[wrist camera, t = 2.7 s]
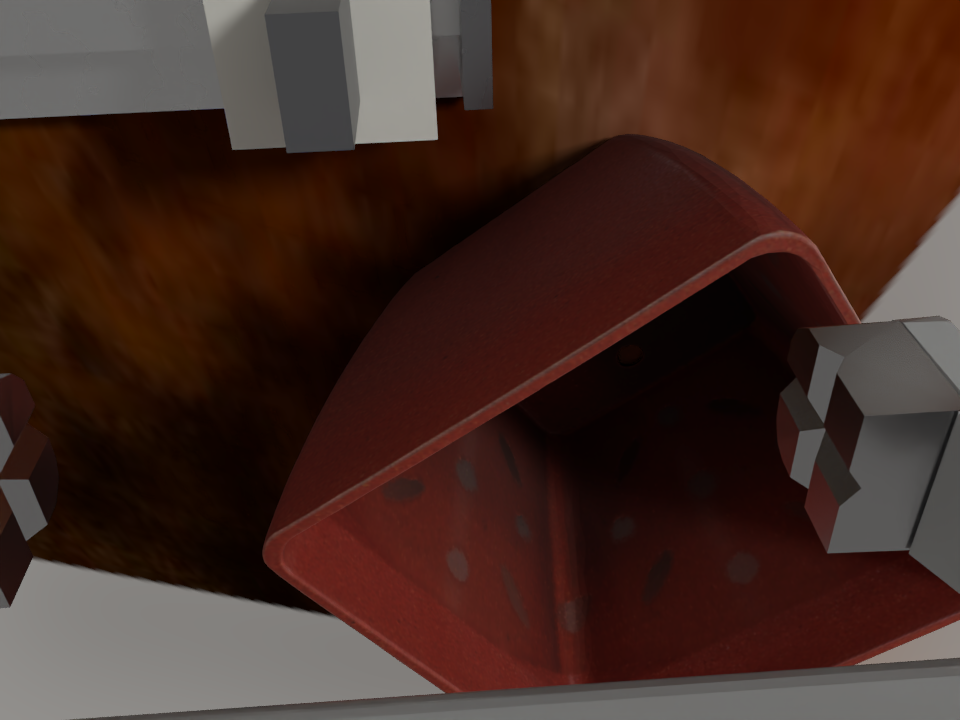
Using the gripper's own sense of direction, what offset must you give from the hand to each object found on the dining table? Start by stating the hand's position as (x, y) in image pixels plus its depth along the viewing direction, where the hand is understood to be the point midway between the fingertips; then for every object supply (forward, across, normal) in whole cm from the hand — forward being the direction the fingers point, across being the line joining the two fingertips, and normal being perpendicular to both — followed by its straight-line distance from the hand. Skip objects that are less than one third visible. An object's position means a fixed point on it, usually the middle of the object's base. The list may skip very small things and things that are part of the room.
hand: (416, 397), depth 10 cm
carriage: (+27, +3, +3) cm, 27 cm away
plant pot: (+29, -7, +18) cm, 35 cm away
